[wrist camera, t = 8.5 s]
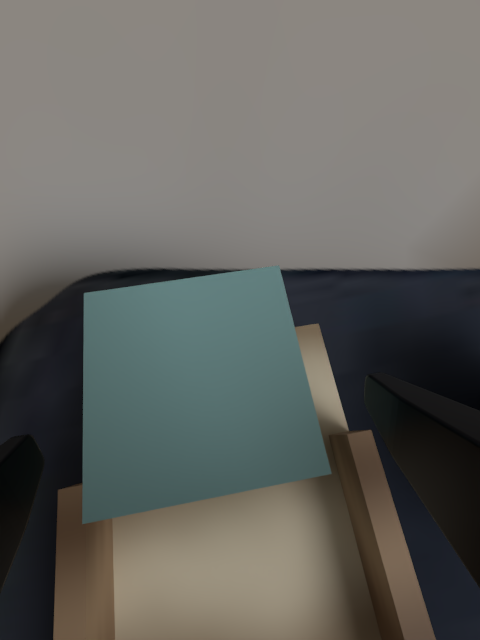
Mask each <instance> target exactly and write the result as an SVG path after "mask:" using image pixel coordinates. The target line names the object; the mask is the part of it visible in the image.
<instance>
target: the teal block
mask: <svg viewBox="0 0 480 640" xmlns="http://www.w3.org/2000/svg"><path fill="white" fill-rule="evenodd" d="M328 474H332V473H331V469H330V465H329V461H328V458H327V454H326V450H325V446H324V442H323V438H322V434H321V430H320V426H319V422H318V418H317V414H316V410H315V406H314V402H313V398H312V394H311V390H310V386H309V382H308V378H307V374H306V370H305V366H304V362H303V359H302V355H301V351H300V347H299V343H298V339H297V335H296V331H295V327H294V323H293V319H292V315H291V311H290V307H289V303H288V299H287V295H286V291H285V287H284V283H283V279H282V275H281V271H280V267H279V266H272V267H265V268H258V269H251V270H244V271H237V272H230V273H223V274H215V275H208V276H201V277H194V278H187V279H180V280H173V281H166V282H159V283H152V284H145V285H138V286H131V287H124V288H117V289H110V290H103V291H95V292H88V293H84V343H83V489H82V524H86V523H91V522H96V521H101V520H106V519H111V518H116V517H121V516H126V515H131V514H136V513H141V512H145V511H150V510H155V509H160V508H165V507H170V506H175V505H180V504H185V503H190V502H195V501H200V500H205V499H210V498H215V497H220V496H225V495H230V494H234V493H239V492H244V491H249V490H254V489H259V488H264V487H269V486H274V485H279V484H284V483H289V482H294V481H299V480H304V479H309V478H314V477H319V476H323V475H328Z"/></svg>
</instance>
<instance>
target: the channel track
mask: <svg viewBox="0 0 480 640" xmlns="http://www.w3.org/2000/svg"><path fill="white" fill-rule="evenodd" d="M295 331H296V335H297V339H298V343H299V347H300V351H301V355H302V359H303V362H304V366H305V370H306V374H307V378H308V382H309V386H310V390H311V394H312V398H313V402H314V406H315V410H316V414H317V418H318V422H319V426H320V430H321V434H322V438H323V442H324V446H325V450H326V454H327V458H328V461H329V465H330V469H331V473H332V474H328V475H323V476H319V477H314V478H309V479H304V480H299V481H294V482H289V483H284V484H279V485H274V486H269V487H264V488H259V489H254V490H249V491H244V492H239V493H234V494H230V495H225V496H220V497H215V498H210V499H205V500H200V501H195V502H190V503H185V504H180V505H175V506H170V507H165V508H160V509H155V510H150V511H145V512H141V513H136V514H131V515H126V516H121V517H116V518H111V519H106V520H101V521H96V522H91V523H86V524H82V489H83V483H80V484H76V485H73V486H69V487H66V488H63V489H59V490H58V508H57V539H56V570H55V602H54V633H53V640H436V639H435V636H434V632H433V629H432V626H431V623H430V619H429V616H428V613H427V610H426V606H425V603H424V600H423V597H422V593H421V590H420V587H419V584H418V580H417V577H416V574H415V571H414V567H413V564H412V561H411V558H410V554H409V551H408V548H407V545H406V541H405V538H404V535H403V532H402V528H401V525H400V522H399V519H398V515H397V512H396V509H395V506H394V502H393V499H392V496H391V493H390V489H389V486H388V483H387V480H386V476H385V473H384V470H383V467H382V463H381V460H380V457H379V454H378V450H377V447H376V444H375V441H374V437H373V434H372V431H371V430H360V431H349V430H348V426H347V423H346V419H345V416H344V412H343V409H342V405H341V402H340V398H339V394H338V391H337V387H336V384H335V380H334V377H333V373H332V370H331V366H330V363H329V359H328V356H327V352H326V349H325V345H324V341H323V338H322V334H321V331H320V327H319V324H312V325H306V326H300V327H295Z"/></svg>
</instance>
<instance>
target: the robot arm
mask: <svg viewBox="0 0 480 640" xmlns="http://www.w3.org/2000/svg"><path fill="white" fill-rule="evenodd" d="M364 402H365V405H366V408H367V410H368V411H369V413H370V415H371V417H372V419H373V421H374V423H375V425H376V427H377V429H378V431H379V432H380V434H381V436H382V438H383V440H384V442H385V444H386V446H387V448H388V449H389V451H390V453H391V455H392V456H393V458H394V460H395V461H396V463H397V464H398V466H399V467H400V469H401V470H402V472H403V473H404V475H405V476H406V478H407V479H408V481H409V482H410V484H411V485H412V487H413V488H414V490H415V491H416V493H417V494H418V496H419V497H420V499H421V500H422V502H423V503H424V505H425V506H426V508H427V509H428V511H429V512H430V514H431V515H432V517H433V518H434V520H435V521H436V523H437V524H438V526H439V527H440V529H441V530H442V532H443V534H444V535H445V537H446V538H447V540H448V541H449V543H450V544H451V546H452V547H453V549H454V550H455V552H456V553H457V555H458V556H459V558H460V559H461V561H462V562H463V564H464V565H465V567H466V568H467V570H468V571H469V573H470V574H471V576H472V577H473V579H474V580H475V582H476V583H477V585H478V586H479V588H480V411H479V410H476V409H474V408H471V407H469V406H466V405H464V404H461V403H459V402H456V401H453V400H451V399H448V398H446V397H443V396H441V395H438V394H436V393H433V392H431V391H428V390H426V389H423V388H420V387H418V386H415V385H413V384H410V383H408V382H405V381H403V380H400V379H398V378H395V377H393V376H390V375H387V374H385V373H382V372H378V373H373V374H368V375H367V376H366V379H365V391H364ZM43 468H44V457H43V455H42V453H41V451H40V449H39V447H38V445H37V443H36V441H35V439H34V437H33V436H32V435H29V434H27V435H21V436H15V437H12V438H10V439H9V440H7V441H6V442H5V443H3V444H2V445H0V593H1V590H2V588H3V585H4V583H5V580H6V578H7V575H8V573H9V570H10V568H11V565H12V563H13V560H14V558H15V555H16V553H17V550H18V548H19V545H20V543H21V540H22V537H23V535H24V532H25V529H26V526H27V523H28V520H29V517H30V513H31V510H32V506H33V503H34V499H35V496H36V493H37V489H38V486H39V482H40V479H41V475H42V472H43Z"/></svg>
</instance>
